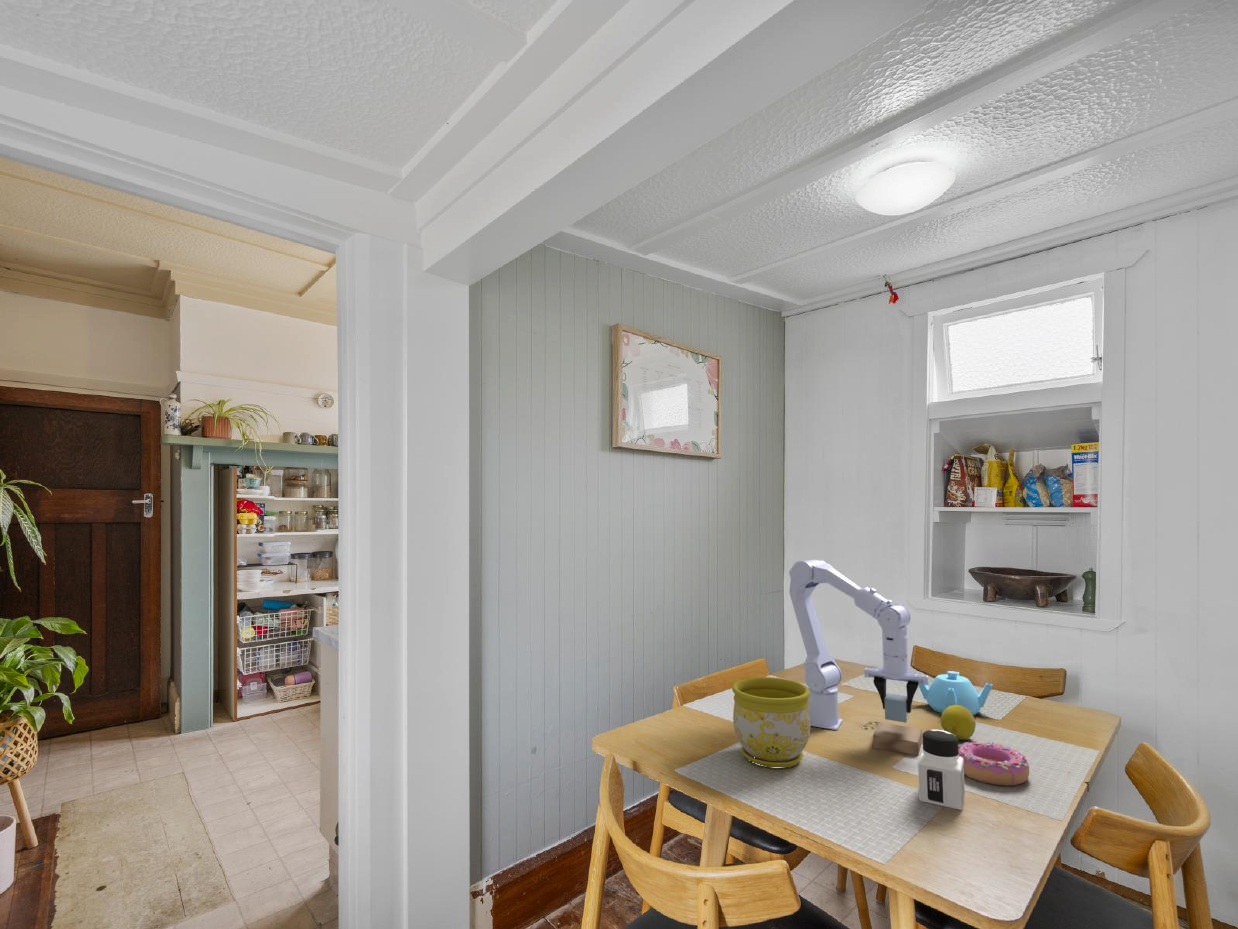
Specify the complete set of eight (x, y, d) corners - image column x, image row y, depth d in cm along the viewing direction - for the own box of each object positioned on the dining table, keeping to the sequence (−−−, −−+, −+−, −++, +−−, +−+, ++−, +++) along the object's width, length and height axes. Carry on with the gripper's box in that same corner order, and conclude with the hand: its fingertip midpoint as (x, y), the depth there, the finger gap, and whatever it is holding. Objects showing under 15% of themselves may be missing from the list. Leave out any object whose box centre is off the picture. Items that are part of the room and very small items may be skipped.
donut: (943, 761, 147) (942, 739, 147) (1005, 761, 146) (1004, 739, 146) (976, 789, 132) (975, 765, 132) (1045, 789, 132) (1044, 765, 132)
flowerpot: (826, 771, 141) (824, 696, 142) (749, 777, 138) (748, 701, 139) (791, 740, 159) (789, 674, 160) (723, 746, 156) (721, 678, 157)
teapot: (998, 716, 175) (996, 677, 176) (951, 721, 172) (950, 681, 172) (957, 700, 190) (955, 663, 191) (913, 704, 187) (912, 667, 187)
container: (962, 811, 123) (959, 743, 123) (918, 801, 127) (916, 735, 128) (965, 795, 129) (962, 730, 130) (923, 786, 133) (921, 723, 134)
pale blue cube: (885, 719, 155) (884, 698, 155) (887, 713, 159) (887, 693, 160) (906, 722, 153) (905, 701, 153) (908, 716, 157) (908, 696, 157)
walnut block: (873, 747, 154) (873, 735, 154) (879, 734, 163) (878, 722, 163) (918, 755, 149) (918, 742, 149) (922, 741, 158) (921, 729, 158)
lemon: (970, 748, 153) (969, 714, 154) (936, 740, 159) (934, 707, 159) (981, 735, 161) (980, 704, 162) (948, 728, 167) (947, 697, 167)
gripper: (861, 654, 157) (863, 709, 157) (926, 661, 150) (928, 719, 149) (866, 648, 163) (867, 701, 163) (928, 655, 156) (930, 710, 156)
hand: (896, 709), depth 156 cm, fingers closed on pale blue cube, 5 cm apart
